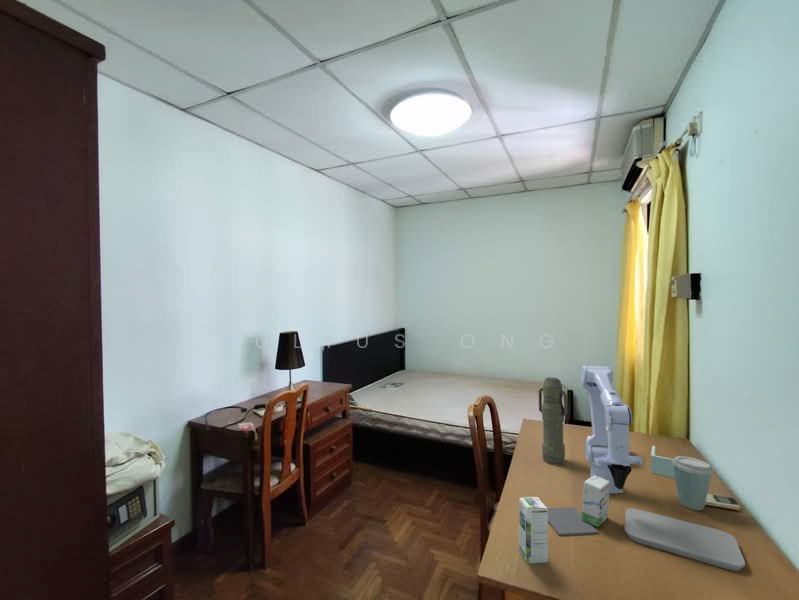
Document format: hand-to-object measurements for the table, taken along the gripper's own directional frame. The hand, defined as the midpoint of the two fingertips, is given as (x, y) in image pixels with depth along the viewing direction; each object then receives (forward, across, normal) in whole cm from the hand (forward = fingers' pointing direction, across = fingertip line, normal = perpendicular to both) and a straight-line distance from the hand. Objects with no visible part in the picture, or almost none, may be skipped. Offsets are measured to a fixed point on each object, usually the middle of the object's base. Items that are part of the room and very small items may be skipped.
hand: (618, 487), depth 114 cm
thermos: (+10, 0, +42) cm, 43 cm away
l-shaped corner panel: (+10, +41, +28) cm, 51 cm away
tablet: (+10, +10, -11) cm, 18 cm away
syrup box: (+10, -34, -14) cm, 38 cm away
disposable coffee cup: (+10, +29, +5) cm, 31 cm away
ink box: (+10, -8, 0) cm, 13 cm away
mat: (+10, -17, 0) cm, 20 cm away
